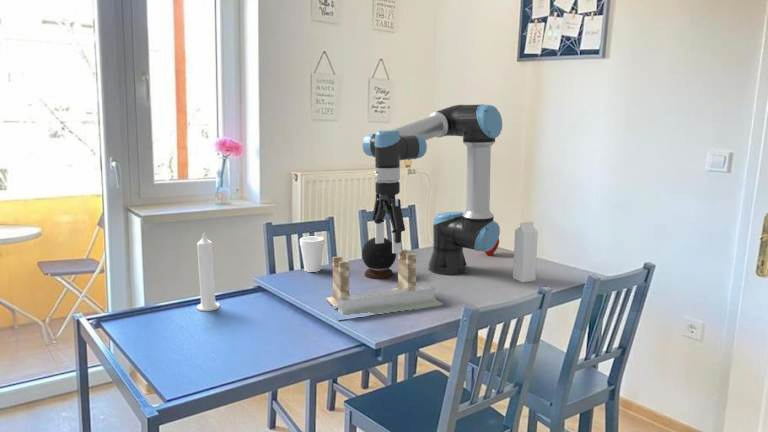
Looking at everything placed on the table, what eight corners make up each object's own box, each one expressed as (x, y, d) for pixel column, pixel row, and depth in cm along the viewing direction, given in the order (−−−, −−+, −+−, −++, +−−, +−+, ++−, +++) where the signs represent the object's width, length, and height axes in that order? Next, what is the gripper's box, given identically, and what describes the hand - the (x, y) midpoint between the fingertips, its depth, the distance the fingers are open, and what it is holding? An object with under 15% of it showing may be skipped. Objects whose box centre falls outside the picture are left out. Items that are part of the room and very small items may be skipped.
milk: (535, 280, 214) (538, 223, 210) (522, 282, 212) (525, 224, 208) (525, 276, 220) (528, 220, 215) (512, 278, 217) (515, 221, 213)
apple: (476, 252, 255) (477, 229, 253) (495, 252, 256) (496, 228, 254) (482, 257, 247) (482, 233, 245) (501, 257, 248) (502, 232, 246)
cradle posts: (411, 288, 205) (411, 248, 202) (422, 296, 197) (423, 254, 194) (325, 300, 192) (324, 257, 190) (333, 309, 184) (333, 264, 181)
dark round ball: (367, 281, 213) (367, 242, 211) (358, 272, 226) (357, 234, 223) (401, 278, 218) (401, 239, 215) (389, 269, 230) (389, 232, 227)
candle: (199, 304, 189) (195, 230, 184) (221, 303, 190) (217, 229, 185) (194, 311, 182) (189, 235, 177) (217, 311, 183) (212, 234, 178)
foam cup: (320, 274, 222) (319, 242, 220) (297, 273, 224) (296, 241, 222) (327, 268, 231) (326, 236, 229) (305, 266, 233) (304, 235, 231)
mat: (431, 297, 195) (431, 296, 195) (442, 305, 188) (442, 303, 188) (330, 312, 181) (330, 311, 181) (338, 321, 174) (338, 319, 174)
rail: (428, 298, 192) (429, 284, 191) (434, 302, 189) (434, 288, 188) (338, 312, 180) (338, 297, 179) (342, 316, 176) (342, 300, 176)
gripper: (361, 177, 187) (362, 240, 191) (392, 187, 164) (393, 258, 168) (383, 175, 189) (383, 238, 194) (416, 185, 167) (416, 255, 171)
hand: (387, 247), depth 181 cm, fingers open, 13 cm apart
